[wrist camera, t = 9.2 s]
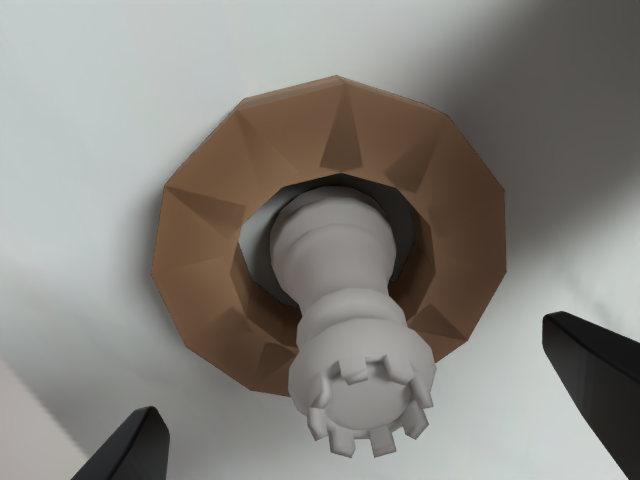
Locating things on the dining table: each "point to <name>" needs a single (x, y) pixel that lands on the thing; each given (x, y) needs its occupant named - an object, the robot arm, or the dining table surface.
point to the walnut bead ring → (311, 163)
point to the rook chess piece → (349, 322)
